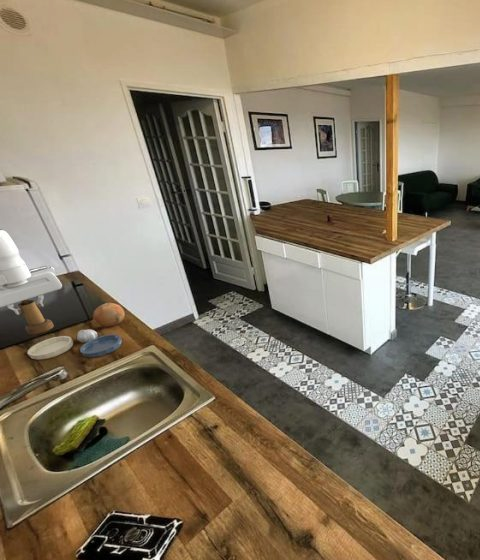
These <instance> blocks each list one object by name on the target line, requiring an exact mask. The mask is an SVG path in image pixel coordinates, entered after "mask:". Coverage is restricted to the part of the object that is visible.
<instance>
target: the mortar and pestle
mask: <svg viewBox="0 0 480 560" xmlns="http://www.w3.org/2000/svg"><path fill="white" fill-rule="evenodd" d="M17 306H18V308H20V309H22V312H23V313H22V314H23V316H24V318H25V320H26V321H27V324H26V325H25V327H24V330H25V331H26V333H27V335H39V334H42V333H45V332H48V331H50V330H51V329H53V328H54V327H55V325H54V323H53V321H52V320H51V319H47V318H44V316H43V314H42V312H41V311H40V308H38V307H37V305H36V301H35V300H34V299H31V300H30V299H26V300H23V301H20V302H18V304H17Z"/></svg>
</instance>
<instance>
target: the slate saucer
mask: <svg viewBox="0 0 480 560" xmlns="http://www.w3.org/2000/svg"><path fill="white" fill-rule="evenodd" d="M122 343H123V340H122V337H121V335H119V334H111V333H110V334H105V335H101V336H97V338H95V339H92V340H90V341H88V342H86V343H83V344H82V346H81V347H80V348H79V352H80V354H81V356H83V357H84V358H89V359H91V358H92V359H93V358H99V357H103V356H106V355H109V354H111V353H113V352H114V351H116V350H118V349H119V348H121V346H122Z"/></svg>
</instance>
